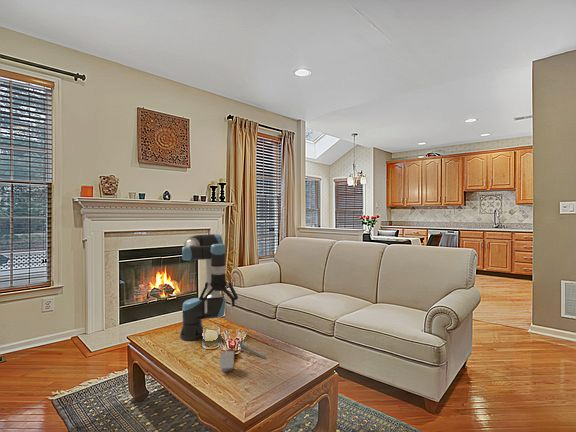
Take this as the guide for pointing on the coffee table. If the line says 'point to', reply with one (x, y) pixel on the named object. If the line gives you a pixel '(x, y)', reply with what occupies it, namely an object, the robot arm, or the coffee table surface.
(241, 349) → the caliper
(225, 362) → the socket
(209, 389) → the coffee table surface
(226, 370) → the ratchet
